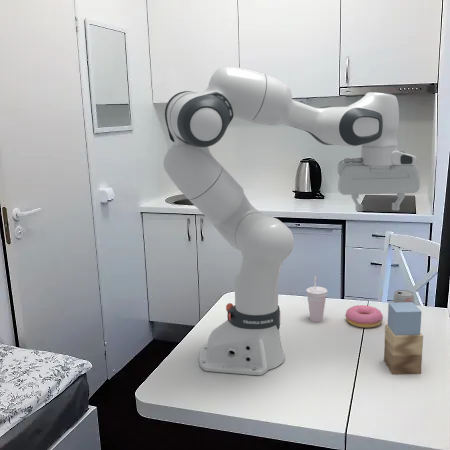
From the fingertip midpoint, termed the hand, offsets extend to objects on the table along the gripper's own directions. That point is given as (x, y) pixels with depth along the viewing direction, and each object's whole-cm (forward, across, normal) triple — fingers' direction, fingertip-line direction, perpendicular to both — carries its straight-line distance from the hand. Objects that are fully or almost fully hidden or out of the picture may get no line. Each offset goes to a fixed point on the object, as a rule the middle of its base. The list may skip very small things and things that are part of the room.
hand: (377, 210), depth 134 cm
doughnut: (+38, +1, +14) cm, 40 cm away
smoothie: (+37, -13, +16) cm, 43 cm away
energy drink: (+37, +10, +6) cm, 39 cm away
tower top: (+32, +4, -14) cm, 35 cm away
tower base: (+37, +4, -14) cm, 40 cm away
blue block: (+27, +4, -14) cm, 31 cm away
